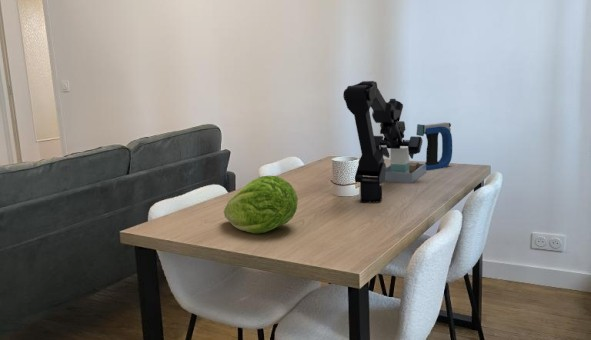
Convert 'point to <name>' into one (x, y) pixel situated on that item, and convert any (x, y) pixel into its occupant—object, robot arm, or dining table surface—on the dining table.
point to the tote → (404, 175)
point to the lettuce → (262, 205)
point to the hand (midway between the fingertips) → (400, 157)
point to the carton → (400, 160)
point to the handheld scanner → (432, 144)
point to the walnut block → (413, 166)
